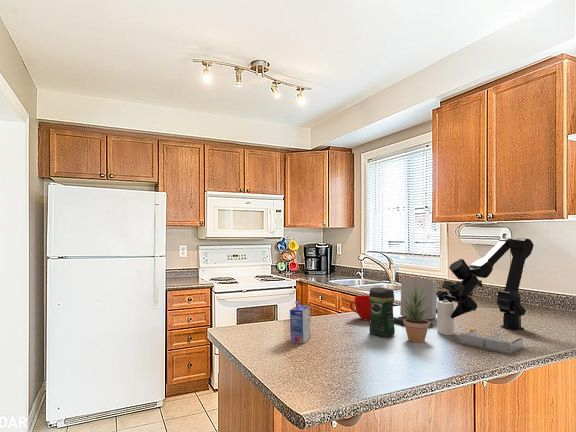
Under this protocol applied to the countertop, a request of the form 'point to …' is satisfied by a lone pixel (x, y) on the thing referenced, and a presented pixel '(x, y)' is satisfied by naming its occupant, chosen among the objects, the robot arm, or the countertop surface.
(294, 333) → the ink cartridge box
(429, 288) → the electrical switch box
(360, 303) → the ceramic cup
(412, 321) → the potted plant
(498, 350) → the rack
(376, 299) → the coffee jar
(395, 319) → the disk drive
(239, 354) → the countertop surface
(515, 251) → the robot arm
